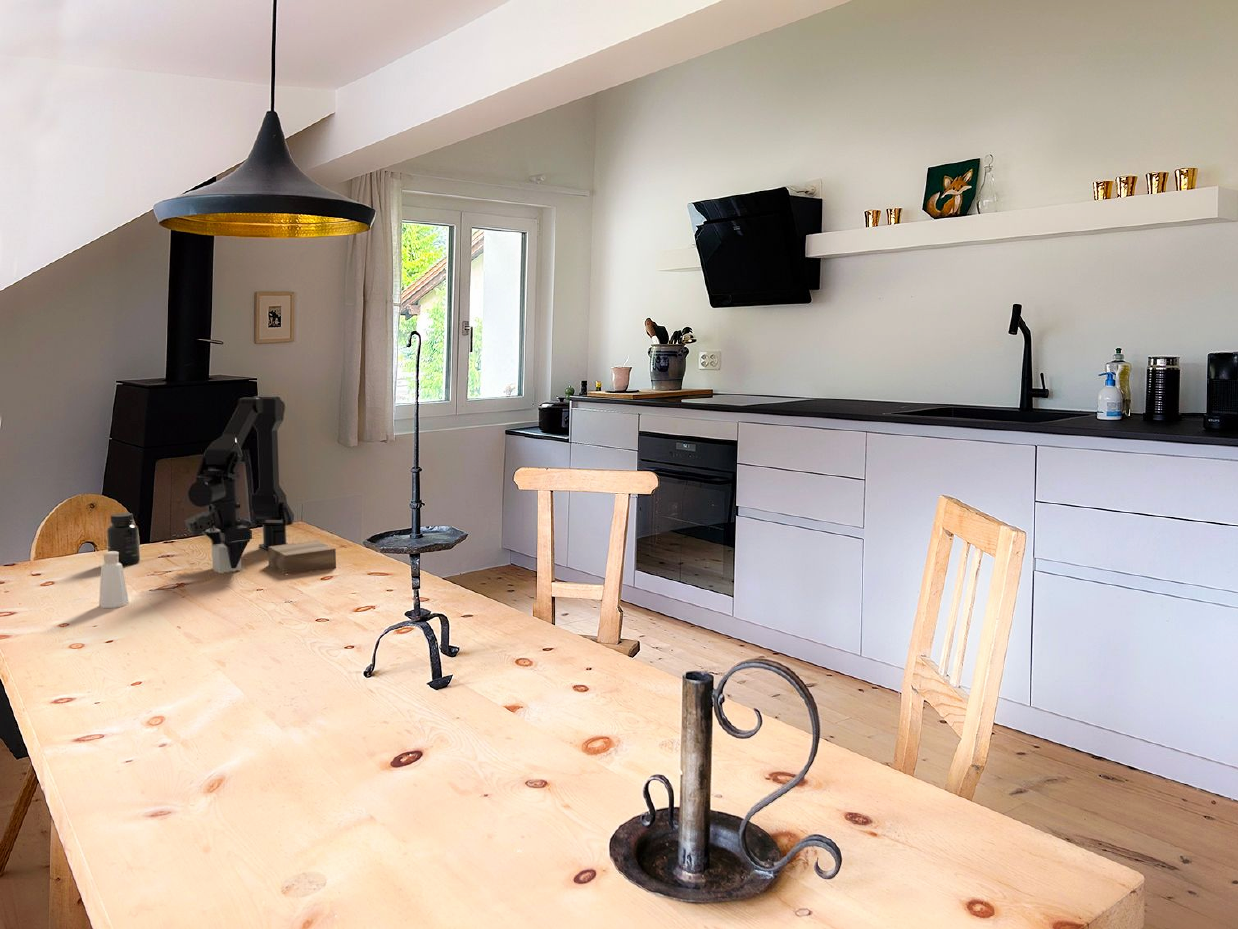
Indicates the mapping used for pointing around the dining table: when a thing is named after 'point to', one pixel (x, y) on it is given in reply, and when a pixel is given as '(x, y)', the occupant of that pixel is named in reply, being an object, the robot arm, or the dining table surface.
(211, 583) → the dining table surface
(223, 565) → the grey block
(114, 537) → the supplement bottle
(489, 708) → the dining table surface
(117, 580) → the salt shaker
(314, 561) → the walnut box
